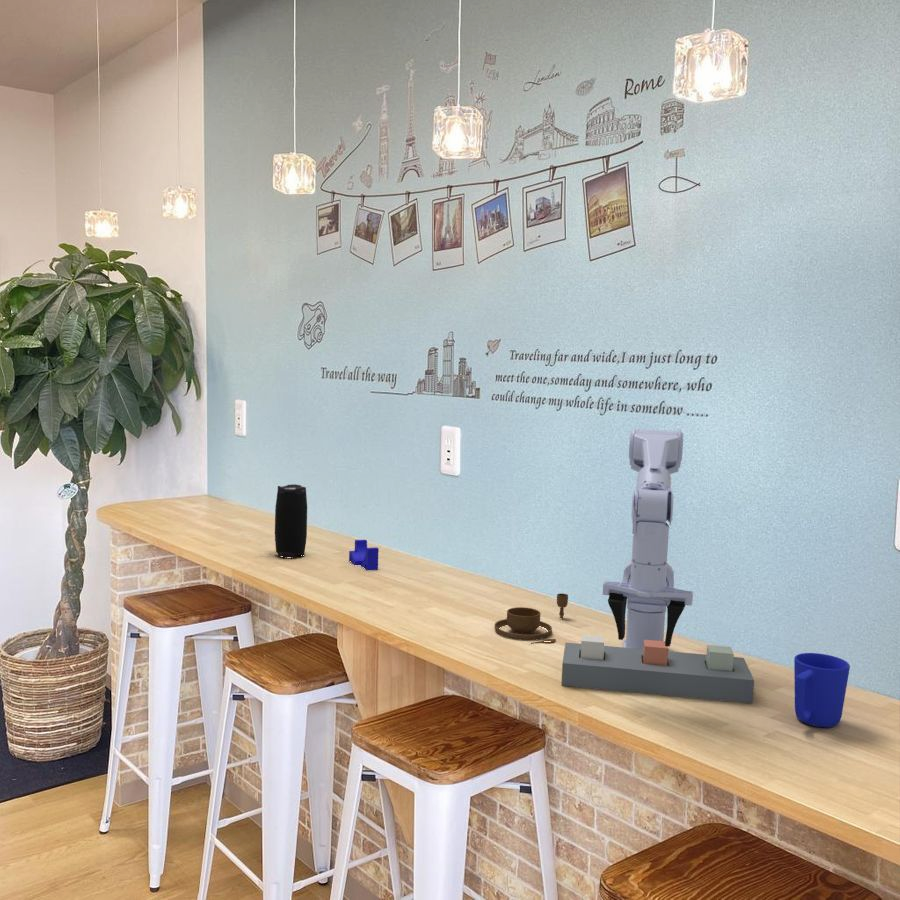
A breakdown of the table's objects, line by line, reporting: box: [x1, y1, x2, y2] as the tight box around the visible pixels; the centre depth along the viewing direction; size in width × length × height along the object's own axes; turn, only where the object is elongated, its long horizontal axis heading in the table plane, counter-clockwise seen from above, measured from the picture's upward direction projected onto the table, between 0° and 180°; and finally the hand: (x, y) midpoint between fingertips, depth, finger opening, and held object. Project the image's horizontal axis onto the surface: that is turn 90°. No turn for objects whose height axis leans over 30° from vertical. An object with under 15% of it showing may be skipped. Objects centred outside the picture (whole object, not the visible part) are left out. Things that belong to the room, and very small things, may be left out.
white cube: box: [580, 634, 605, 660], centre depth 162 cm, size 4×4×4 cm
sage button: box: [706, 644, 735, 671], centre depth 159 cm, size 4×4×4 cm
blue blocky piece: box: [348, 539, 380, 571], centre depth 243 cm, size 12×4×6 cm, turn 22°
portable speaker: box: [274, 483, 308, 558], centre depth 251 cm, size 9×9×20 cm
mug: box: [793, 652, 851, 728], centre depth 144 cm, size 8×12×10 cm
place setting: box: [494, 593, 569, 645], centre depth 190 cm, size 18×20×6 cm
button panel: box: [561, 642, 755, 704], centre depth 161 cm, size 12×32×4 cm, turn 80°
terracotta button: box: [643, 640, 669, 666], centre depth 160 cm, size 4×4×4 cm
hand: (644, 641), depth 151 cm, fingers open, 7 cm apart
